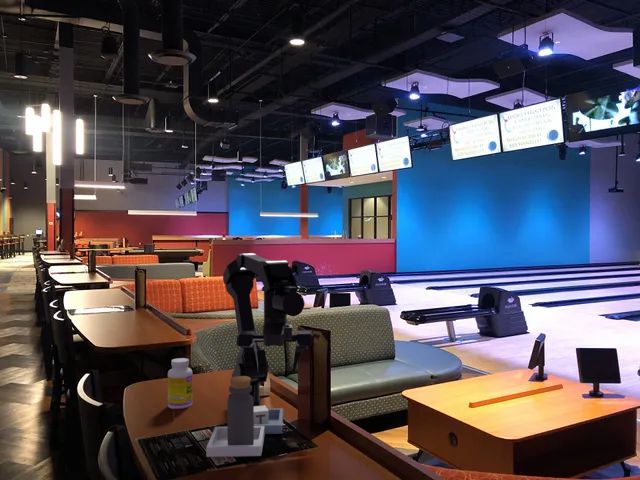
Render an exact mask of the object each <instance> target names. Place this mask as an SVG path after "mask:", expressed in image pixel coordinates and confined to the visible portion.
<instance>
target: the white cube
mask: <svg viewBox="0 0 640 480" xmlns="http://www.w3.org/2000/svg"><path fill="white" fill-rule="evenodd" d="M268 409H269V408H268V407H267V406H266V404H263V405H260V406H254V424H269V410H268Z"/></svg>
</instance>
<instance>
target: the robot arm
mask: <svg viewBox="0 0 640 480" xmlns="http://www.w3.org/2000/svg"><path fill="white" fill-rule="evenodd" d="M257 275H258V280H259V281H260V282H261V283H262V285H263V286H262V287H261V291H262V292H263V327H262V334H256V327H255V322H254V321H255V320H254V314H253V309H252V302H251V295H250V294H251V293H252V291H253V288H254V285H255V284H254V283H255V282H254V281H255V279H256V277H257ZM222 280H223V283H224V285H225V286H224V287H225V291H226V292H227V293H228V294H229V296H230V297H231V299H232V300H233V306H234V312H235V313H234V314H235V319H236V320H235V321H236V327H237V333H238V334H237V336H236V346H237V347H240V348H239V352H238V354H237V356H236V359H235V362H236V364H235V366H234V369H233V371H232V373H231V378H232V377H236V376H248V377H250V378H251V382H250V385H251V386H252V391H251V392H249V394H250V395H251V396H252V397H253V399H254V406H262V399H263V398H262V397H260V396H261V395H260V393H261V391H260V389H261V388H260V387H261V383H266V382H267V379H268V375H269V374H268V373H269V369H270V367H269V363H268V360H267V357H266V354H267V352H266V351H265V349H263V348H262V349H261V347H260V346H259V345H258V343H263V345H264V346H265V347H270V346H277V347H282V346H284V345H285V343H290V342H292V343H295V347H294V355H293V362H292V373H295V372H296V369H297V365H298V363H299V360H300V356H301V355H302V353H303V351H304V350H307V349H308V347H309V346H310V347H311V346H313V345H314V343H313V342H314V338H313V336H314V334H313V332H312V330H296V333H293V324H288V321H287V318H288V317H287V316H290V317H296V316H299V315H301V313H302V312H303V310H304V308H305V300H304V297H303V295H302V294H301V293H300V292H298V284H297V282H298V281H297V278H296V276H295V274H294V272H293V269H292V266H291V265H290V263H289V262H288V261H287V260H270V259H267V258H264V257H263V256H262V257H261V256H260V255H257V254H256V253H253V252H251V253H250V252H249V253H248V252H247V253H245V252H244V253H240V254H239V253H238V255H237V256H236V258H235V259H234V260H232V261H231V262H230V263H228V264H227V265H226V267H225V270H224V271H223V274H222Z"/></svg>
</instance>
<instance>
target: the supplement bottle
mask: <svg viewBox="0 0 640 480" xmlns="http://www.w3.org/2000/svg"><path fill="white" fill-rule="evenodd" d="M170 364H171V369H169V370H168V372H167V407H168V408H169V409H171V410H174V409H176V410H177V409H186V408H189V407H190V406H192V405H193V396H194V395H193V370H192V368H191V367H189V364H190V360H189V358H185V357H182V358H181V357H180V358H173V359H171V363H170Z"/></svg>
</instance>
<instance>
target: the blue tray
mask: <svg viewBox="0 0 640 480" xmlns="http://www.w3.org/2000/svg"><path fill="white" fill-rule="evenodd" d="M267 409H268V410H269V424H254V426H265V435H279V434H281V435H282V434H283V423H284V408H282V407H281V408H280V407H279V408H277V407H276V408H267Z"/></svg>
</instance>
